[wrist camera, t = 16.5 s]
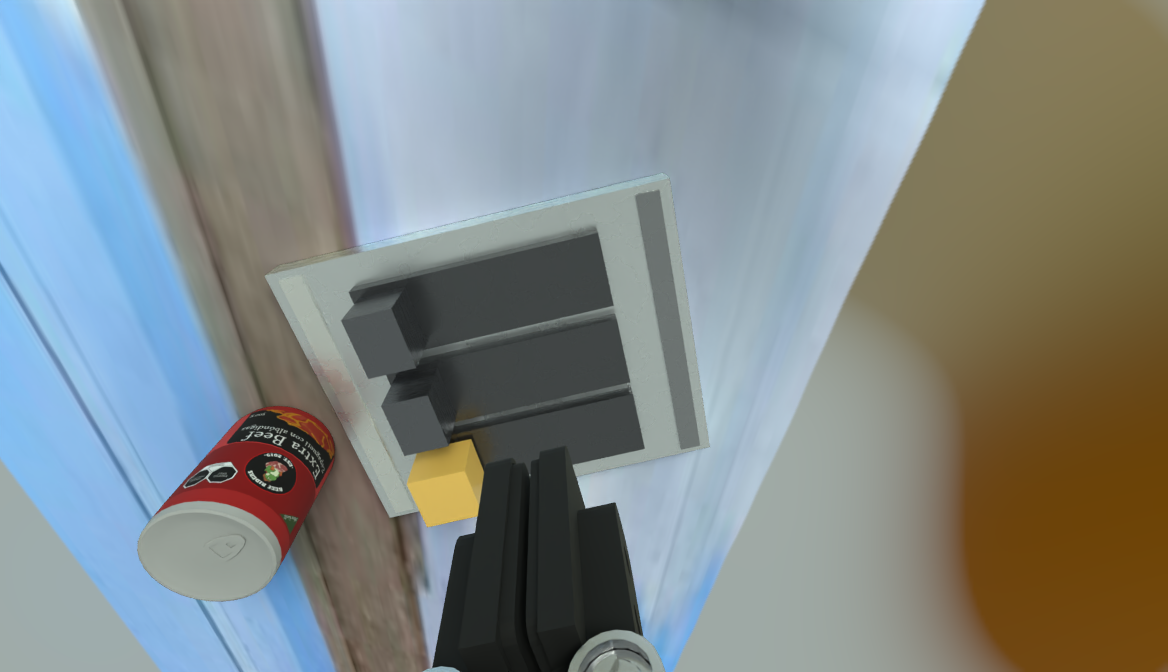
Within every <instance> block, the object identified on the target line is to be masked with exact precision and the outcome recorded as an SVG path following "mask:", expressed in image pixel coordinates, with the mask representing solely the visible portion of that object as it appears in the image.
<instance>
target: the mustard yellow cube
mask: <svg viewBox="0 0 1168 672" xmlns="http://www.w3.org/2000/svg"><path fill="white" fill-rule="evenodd" d="M483 476H484V471H483V468H482V465H481V463H480V460H479V458H478V455H477V453H476V450H475V448H474V445H473V443H472V440H471V439H469V440H464V441H460V442H455V443H451V444H449V446H447V447H443V448H438V449H434V450H429V451H425V452H420V453H417V454H416V457H415V460H414V463H413V466H412V469H411V472H410V475H409V478H408V481H407V486H408V488H409V490H410V492H411V494H412V496H413V499H414V501H415V503H416V505H417V507H418V509H419V511H420V513H421V515H422V517H423V519H424V521H425V523H426V526H427V527H431V526H435V525H440V524H445V523H449V522H454V521H458V520H463V519H467V518H472V517H476V516H478V510H479V503H480V496H481V490H482V483H483Z"/></svg>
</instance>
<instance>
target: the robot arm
mask: <svg viewBox="0 0 1168 672" xmlns="http://www.w3.org/2000/svg"><path fill="white" fill-rule="evenodd" d="M423 672H665V669H664V666H663V664H662V661H661V658H660V657H659V655H658V653H657V651H656V649H655V648H654V646H653V645H652V644H651V643H650V642H648V641H647V640H646V639H645V638H644V637H643V633H642V627H641V621H640V616H639V610H638V604H637V599H636V593H635V587H634V581H633V576H632V570H631V565H630V560H629V555H628V550H627V546H626V541H625V537H624V533H623V529H622V525H621V521H620V517H619V513H618V510H617V506H616V503H610V504H606V505H601V506H597V507H592V508H587V509H585V505H584V502H583V498H582V495H581V492H580V488H579V485H578V482H577V478H576V475H575V472H574V468H573V465H572V461H571V458H570V455H569V452H568V449H567V446H562V447H557V448H553V449H548V450H544V451H540V454H539V459H536V460H532V461H531V470H530V475H529V472H528V469H527V467H526V464H525V463H524V462H523V463H518V464H516V461H515V460H514V458H508V459H504V460H499V461H495V462H490V463H487V464H486V465H485V470H484V476H483V483H482V490H481V496H480V503H479V510H478V517H477V523H476V530H475V533H473V534H469V535H464V536H460V537H459V538H458V539H457V542H456V545H455V549H454V555H453V560H452V565H451V571H450V576H449V581H448V587H447V592H446V597H445V603H444V608H443V614H442V619H441V624H440V630H439V635H438V640H437V646H436V651H435V656H434V662H433V667H432V668H431V669H427V670H425V671H423Z"/></svg>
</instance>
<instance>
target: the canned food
mask: <svg viewBox="0 0 1168 672" xmlns="http://www.w3.org/2000/svg"><path fill="white" fill-rule="evenodd" d="M334 454H335V449H334V442H333V438H332V436H331V434H330V432H329V430H328V429H327V428H326V427H325V426H324V424H323V423H321V422H320V421H319V420H318V419H317V418H315V417H314V416H312V415H310V414H308V413H306V412H304V411H301V410H299V409H295V408H290V407H282V406H273V407H266V408H262V409H258V410H256V411H254V412H252V413H250V414H248V415H246V416H244V417H242V418H241V419H240V420H239V421H237V422H236V423H235V424H234V425H233V426H232V427H231V428H230V430H229V431H228V432H227V433H226V434H225V435H224V436H223V437H222V439H221V440H220V441H219V442H218V443H217V444H216V445H215V447H214V448H213V449H212V450H211V451H210V452H209V453H208V454H207V456H206V457H205V458H204V459H203V460H202V461H201V462H200V463H199V465H198V466H197V467H196V468H195V469H194V470H193V471H192V473H191V474H190V475H189V476H188V477H187V478H186V479H185V480H184V482H183V483H182V484H181V485H180V486H179V487H178V488H177V489H176V491H175V492H174V493H173V494H172V495H171V496H170V497H169V499H168V500H167V501H166V502H165V503H164V504H163V506H162V507H161V508H160V509H159V511H158V512H157V513H156V514H155V515H154V516H153V517H152V519H151V520H150V521H149V522H148V524H147V525H146V527H145V529H144V530H143V531H142V532H141V535H140V537H139V540H138V549H137V551H138V555H139V559H140V561H141V563H142V565H143V567H144V569H145V570H146V571H147V572H148V573H149V575H150V576H151V577H152V578H153V579H155V580H156V581H157V582H158V583H160V584H161V585H163V586H164V587H166V588H168V589H169V590H171V591H173V592H176V593H178V594H181V595H183V596H186V597H190V598H194V599H198V600H205V601H231V600H237V599H241V598H245V597H248V596H250V595H252V594H255V593H257V592H258V591H260V590H261V589H263V588H264V587H265V586H266V585H267V584H268V583H269V582H270V581H271V579H272V577H273V576H274V575H275V574H276V572H277V570H278V568H279V566H280V565H281V563H282V561H283V560H284V558H285V556H286V554H287V552H288V550H289V548H290V546H291V545H292V543H293V541H294V539H295V537H296V535H297V533H298V531H299V529H300V527H301V525H302V524H303V522H304V520H305V518H306V516H307V514H308V512H309V510H310V508H311V506H312V504H313V503H314V501H315V499H316V497H317V495H318V493H319V491H320V489H321V487H322V485H323V484H324V482H325V480H326V478H327V476H328V474H329V472H330V470H331V468H332V466H333V462H334Z"/></svg>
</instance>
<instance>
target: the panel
mask: <svg viewBox="0 0 1168 672" xmlns="http://www.w3.org/2000/svg"><path fill="white" fill-rule="evenodd" d="M265 278H266V280H267V281H268V283H269V285H270V287H271V289H272V291H273V293H274V295H275V297H276V299H277V301H278V303H279V305H280V307H281V308H282V310H283V312H284V314H285V316H286V318H287V320H288V322H289V324H290V326H291V328H292V330H293V332H294V334H295V336H296V337H297V339H298V341H299V343H300V345H301V347H302V349H303V351H304V353H305V355H306V357H307V359H308V361H309V363H310V365H311V366H312V368H313V370H314V372H315V374H316V376H317V378H318V380H319V382H320V384H321V386H322V388H323V390H324V392H325V393H326V395H327V397H328V399H329V401H330V403H331V405H332V407H333V409H334V411H335V413H336V415H337V417H338V419H339V421H340V422H341V424H342V426H343V428H344V430H345V432H346V434H347V436H348V438H349V440H350V442H351V444H352V446H353V448H354V449H355V451H356V453H357V455H358V457H359V459H360V461H361V463H362V465H363V467H364V469H365V471H366V473H367V475H368V477H369V478H370V480H371V482H372V484H373V486H374V488H375V490H376V492H377V494H378V496H379V498H380V500H381V502H382V504H383V505H384V507H385V509H386V511H387V513H388V515H389V517H390V518H391V517H395V516H400V515H404V514H409V513H413V512H418V511H419V509H418V507H417V505H416V503H415V501H414V499H413V496H412V494H411V492H410V490H409V488H408V486H407V481H408V478H409V475H410V472H411V469H412V466H413V463H414V460H415V457H416V454H417V453H420V452H425V451H429V450H434V449H438V448H443V447H447V446H449V444H451V443H455V442H460V441H464V440H469V439H471V440H472V443H473V445H474V448H475V450H476V453H477V455H478V458H479V460H480V463H481V465H482V468H483V471H484V470H485V465H486V464H487V463H490V462H495V461H499V460H504V459H508V458H514V460H515V461H516V464H518V463H523V462H524V463H525V464H526V467H527V469H528V472H529V475H530V470H531V461H532V460H536V459H539V454H540V451H544V450H548V449H553V448H557V447H562V446H567V449H568V452H569V455H570V458H571V461H572V465H573V468H574V472H575V475H576V476H581V475H585V474H590V473H594V472H599V471H603V470H608V469H612V468H617V467H621V466H626V465H630V464H635V463H639V462H644V461H648V460H653V459H658V458H662V457H667V456H671V455H676V454H680V453H685V452H689V451H694V450H698V449H703V448H707V447H710V445H709V438H708V431H707V425H706V418H705V411H704V405H703V398H702V391H701V385H700V378H699V371H698V365H697V358H696V351H695V344H694V338H693V331H692V324H691V318H690V311H689V304H688V298H687V291H686V284H685V278H684V271H683V264H682V257H681V251H680V244H679V237H678V231H677V224H676V217H675V211H674V204H673V197H672V191H671V184H670V178H669V177H668V176H666V175H665V174H664V173H660V174H656V175H652V176H648V177H643V178H639V179H635V180H631V181H627V182H623V183H618V184H614V185H610V186H606V187H602V188H598V189H594V190H589V191H585V192H581V193H577V194H573V195H569V196H565V197H560V198H556V199H552V200H548V201H544V202H540V203H536V204H531V205H527V206H523V207H519V208H515V209H511V210H507V211H502V212H498V213H494V214H490V215H486V216H482V217H478V218H473V219H469V220H465V221H461V222H457V223H453V224H449V225H444V226H440V227H436V228H432V229H428V230H424V231H420V232H415V233H411V234H407V235H403V236H399V237H395V238H391V239H386V240H382V241H378V242H374V243H370V244H366V245H362V246H357V247H353V248H349V249H345V250H341V251H337V252H332V253H328V254H324V255H320V256H316V257H312V258H308V259H303V260H299V261H295V262H291V263H287V264H283V265H279V266H277V267H276V268H274V269H273V270H272V271H270V272H269V273H268V274H266V275H265Z"/></svg>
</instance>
